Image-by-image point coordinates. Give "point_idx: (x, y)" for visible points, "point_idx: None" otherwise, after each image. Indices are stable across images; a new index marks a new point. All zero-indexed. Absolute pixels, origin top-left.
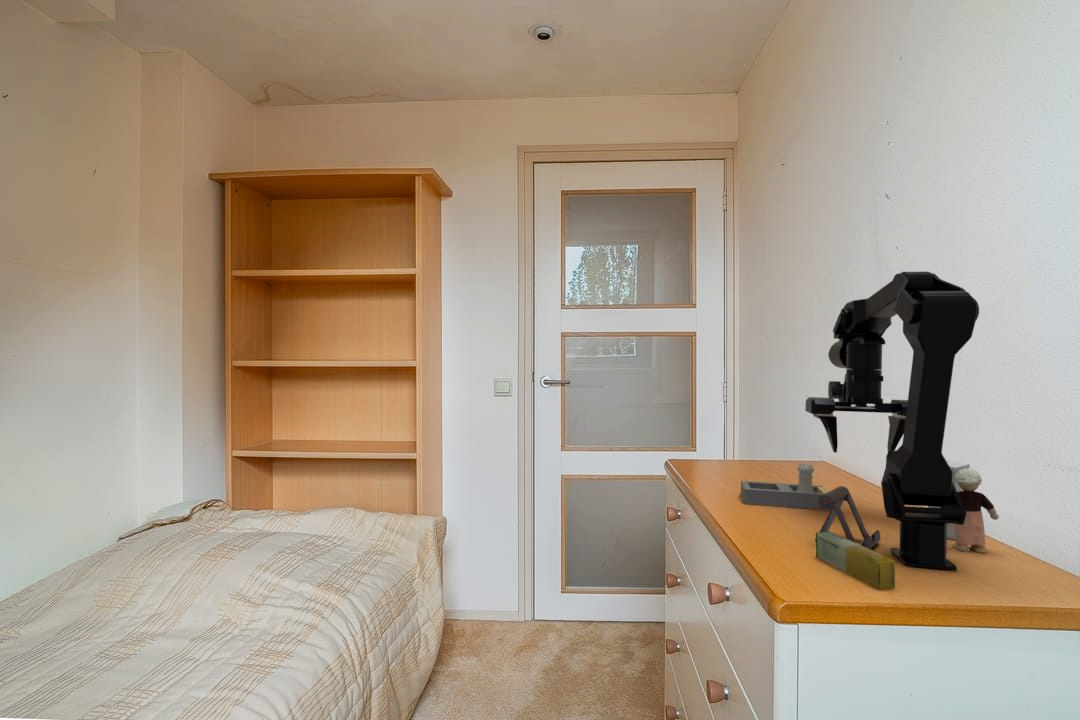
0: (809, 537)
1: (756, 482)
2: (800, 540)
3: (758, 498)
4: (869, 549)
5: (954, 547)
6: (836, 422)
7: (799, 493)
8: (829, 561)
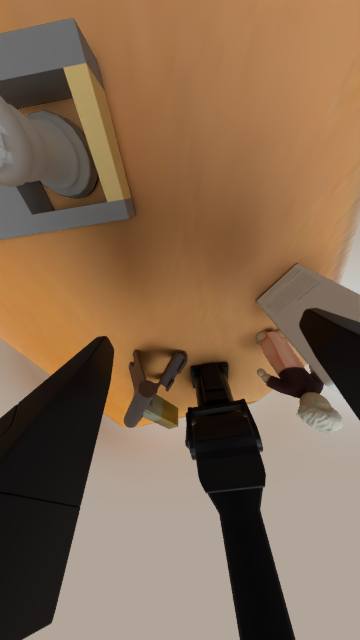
0: (122, 359)
1: None
2: (116, 368)
3: None
4: (166, 421)
5: (256, 338)
6: (68, 551)
7: (55, 229)
8: None
